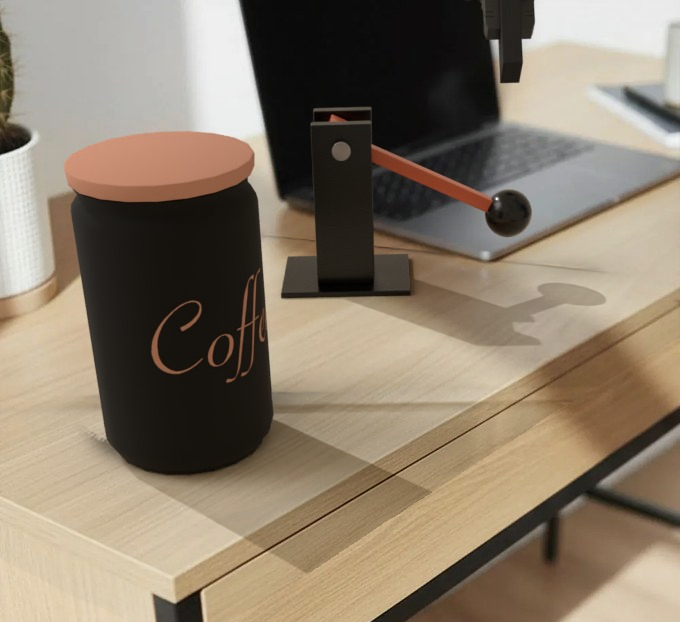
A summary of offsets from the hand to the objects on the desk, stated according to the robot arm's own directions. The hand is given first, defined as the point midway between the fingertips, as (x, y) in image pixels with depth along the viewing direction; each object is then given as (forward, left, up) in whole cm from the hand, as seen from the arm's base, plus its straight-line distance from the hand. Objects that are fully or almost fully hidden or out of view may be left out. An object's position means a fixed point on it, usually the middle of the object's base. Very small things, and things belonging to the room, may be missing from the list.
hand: (511, 72), depth 92 cm
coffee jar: (+12, +35, -16) cm, 40 cm away
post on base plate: (+11, +9, -15) cm, 21 cm away
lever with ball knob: (+5, +7, -8) cm, 12 cm away
